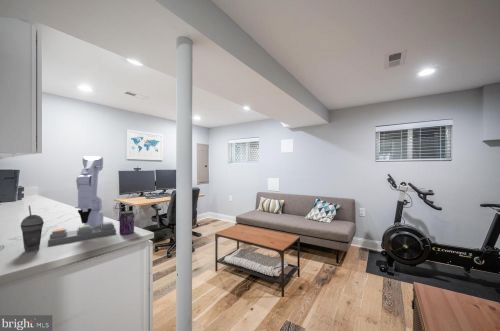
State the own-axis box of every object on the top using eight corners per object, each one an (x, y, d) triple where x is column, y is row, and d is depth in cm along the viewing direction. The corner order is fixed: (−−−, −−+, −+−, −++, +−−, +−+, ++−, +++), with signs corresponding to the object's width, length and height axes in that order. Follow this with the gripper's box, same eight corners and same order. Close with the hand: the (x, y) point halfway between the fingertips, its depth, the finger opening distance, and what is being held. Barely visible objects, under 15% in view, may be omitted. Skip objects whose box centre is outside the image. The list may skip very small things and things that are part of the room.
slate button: (111, 224, 119) (111, 221, 119) (112, 226, 115) (112, 223, 115) (102, 226, 116) (102, 222, 116) (102, 227, 113) (103, 224, 113)
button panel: (113, 229, 122) (113, 221, 122) (115, 233, 114) (115, 225, 114) (50, 239, 105) (50, 230, 105) (48, 245, 96) (48, 236, 96)
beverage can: (127, 235, 111) (127, 213, 111) (116, 234, 112) (116, 212, 112) (136, 231, 118) (137, 210, 118) (126, 230, 119) (126, 210, 119)
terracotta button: (64, 231, 106) (64, 228, 106) (64, 233, 102) (64, 229, 102) (53, 233, 103) (53, 229, 103) (52, 235, 100) (52, 231, 100)
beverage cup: (36, 252, 89) (36, 206, 89) (15, 254, 87) (15, 207, 87) (47, 245, 96) (48, 203, 96) (28, 247, 94) (28, 204, 94)
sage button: (89, 228, 112) (89, 224, 112) (89, 230, 109) (89, 226, 109) (79, 229, 109) (79, 225, 109) (79, 231, 106) (79, 227, 106)
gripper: (75, 196, 112) (74, 221, 112) (74, 200, 101) (74, 227, 101) (91, 195, 117) (91, 219, 117) (92, 198, 106) (92, 224, 106)
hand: (84, 222), depth 109 cm, fingers closed
